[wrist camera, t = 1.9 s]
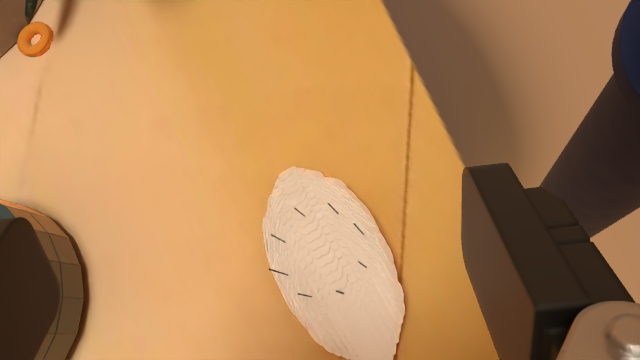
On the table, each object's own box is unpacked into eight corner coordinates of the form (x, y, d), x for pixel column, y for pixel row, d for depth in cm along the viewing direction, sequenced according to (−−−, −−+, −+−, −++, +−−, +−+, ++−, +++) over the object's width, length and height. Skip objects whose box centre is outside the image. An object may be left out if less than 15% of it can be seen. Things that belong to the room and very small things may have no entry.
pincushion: (440, 340, 29) (439, 343, 24) (335, 394, 30) (310, 409, 24) (334, 145, 33) (313, 109, 28) (242, 196, 33) (203, 170, 28)
